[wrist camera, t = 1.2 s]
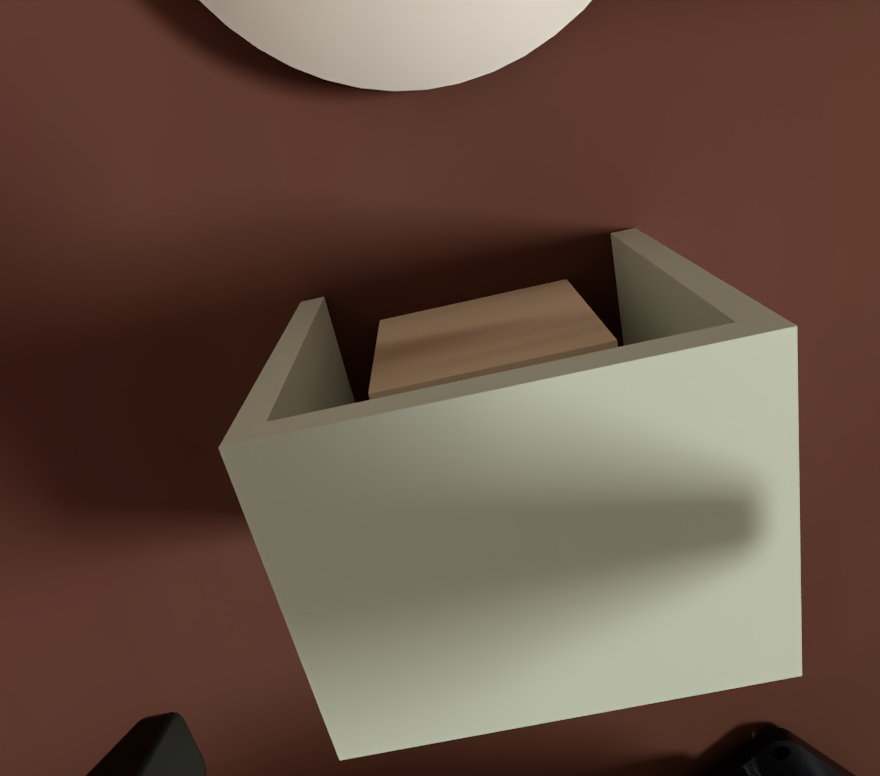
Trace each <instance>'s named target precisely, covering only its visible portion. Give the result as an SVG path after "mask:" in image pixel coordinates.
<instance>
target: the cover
mask: <svg viewBox="0 0 880 776" xmlns="http://www.w3.org/2000/svg"><path fill="white" fill-rule="evenodd" d="M610 234H611V243H612V251H613V260H614V268H615V276H616V285H617V293H618V302H619V310H620V318H621V327H622V335H623V344H624V346H621V347H616V348H612V349H607V350H602V351H597V352H593V353H588V354H583V355H579V356H574V357H569V358H564V359H560V360H555V361H550V362H546V363H541V364H536V365H531V366H527V367H522V368H517V369H513V370H508V371H503V372H498V373H494V374H489V375H484V376H480V377H475V378H470V379H466V380H461V381H456V382H451V383H447V384H442V385H437V386H433V387H428V388H423V389H418V390H414V391H409V392H404V393H400V394H395V395H390V396H385V397H381V398H376V399H371V400H367V401H362V402H357V403H355V401H354V397H353V394H352V391H351V387H350V384H349V380H348V377H347V373H346V370H345V367H344V363H343V360H342V356H341V353H340V349H339V346H338V343H337V339H336V336H335V332H334V329H333V325H332V322H331V318H330V315H329V312H328V308H327V305H326V301H325V298H324V297H320V298H316V299H311V300H307V301H302V302H300V304H299V306H298V308H297V310H296V311H295V313H294V315H293V317H292V318H291V320H290V322H289V324H288V326H287V327H286V329H285V331H284V333H283V334H282V336H281V338H280V340H279V341H278V343H277V345H276V347H275V349H274V350H273V352H272V354H271V356H270V357H269V359H268V361H267V363H266V364H265V366H264V368H263V370H262V372H261V373H260V375H259V377H258V379H257V380H256V382H255V384H254V386H253V388H252V389H251V391H250V393H249V395H248V396H247V398H246V400H245V402H244V403H243V405H242V407H241V409H240V411H239V412H238V414H237V416H236V418H235V419H234V421H233V423H232V425H231V426H230V428H229V430H228V432H227V434H226V435H225V437H224V439H223V441H222V442H221V444H220V446H219V451H220V454H221V456H222V459H223V461H224V464H225V466H226V469H227V472H228V474H229V477H230V479H231V482H232V485H233V487H234V490H235V492H236V495H237V497H238V500H239V503H240V505H241V508H242V510H243V513H244V515H245V518H246V521H247V523H248V526H249V528H250V531H251V534H252V536H253V539H254V541H255V544H256V546H257V549H258V552H259V554H260V557H261V559H262V562H263V564H264V567H265V570H266V572H267V575H268V577H269V580H270V583H271V585H272V588H273V590H274V593H275V595H276V598H277V601H278V603H279V606H280V608H281V611H282V613H283V616H284V619H285V621H286V624H287V626H288V629H289V632H290V634H291V637H292V639H293V642H294V644H295V647H296V650H297V652H298V655H299V657H300V660H301V662H302V665H303V668H304V670H305V673H306V675H307V678H308V681H309V683H310V686H311V688H312V691H313V693H314V696H315V699H316V701H317V704H318V706H319V709H320V711H321V714H322V717H323V719H324V722H325V724H326V727H327V730H328V732H329V735H330V737H331V740H332V742H333V745H334V748H335V750H336V753H337V755H338V758H339V760H346V759H351V758H356V757H362V756H367V755H373V754H378V753H384V752H389V751H395V750H400V749H406V748H411V747H416V746H422V745H427V744H433V743H438V742H444V741H449V740H455V739H460V738H466V737H471V736H476V735H482V734H487V733H493V732H498V731H504V730H509V729H515V728H520V727H526V726H531V725H536V724H542V723H547V722H553V721H558V720H564V719H569V718H575V717H580V716H586V715H591V714H596V713H602V712H607V711H613V710H618V709H624V708H629V707H635V706H640V705H646V704H651V703H656V702H662V701H667V700H673V699H678V698H684V697H689V696H695V695H700V694H706V693H711V692H716V691H722V690H727V689H733V688H738V687H744V686H749V685H755V684H760V683H766V682H771V681H776V680H782V679H787V678H793V677H798V676H802V633H801V564H800V494H799V424H798V355H797V326H796V325H795V324H793V323H791V322H790V321H788V320H786V319H785V318H783V317H781V316H780V315H778V314H776V313H775V312H773V311H772V310H770V309H768V308H767V307H765V306H763V305H762V304H760V303H758V302H757V301H755V300H753V299H752V298H750V297H748V296H747V295H745V294H743V293H742V292H740V291H738V290H737V289H735V288H733V287H732V286H730V285H729V284H727V283H725V282H724V281H722V280H720V279H719V278H717V277H715V276H714V275H712V274H710V273H709V272H707V271H705V270H704V269H702V268H700V267H699V266H697V265H695V264H694V263H692V262H690V261H689V260H687V259H685V258H684V257H682V256H681V255H679V254H677V253H676V252H674V251H672V250H671V249H669V248H667V247H666V246H664V245H662V244H661V243H659V242H657V241H656V240H654V239H652V238H651V237H649V236H647V235H646V234H644V233H642V232H641V231H639V230H638V229H636V228H632V229H627V230H623V231H618V232H614V233H610Z"/></svg>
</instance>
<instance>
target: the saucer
mask: <svg viewBox="0 0 880 776" xmlns="http://www.w3.org/2000/svg"><path fill="white" fill-rule="evenodd" d="M199 1H200V2H202V3H203V4H204V5H205V6H206V7H207V8H208V9H209V10H210V11H211V12H212V13H213V14H215V15H216V16H217V17H218V18H219V19H220V20H221V21H222V22H223V23H224V24H225V25H226V26H228V27H229V28H230V29H232V30H233V31H235V32H236V33H237V34H239V35H240V36H241V37H243V38H244V39H246V40H247V41H248V42H250V43H251V44H252V45H254V46H255V47H257V48H258V49H260V50H262V51H263V52H265V53H267V54H269V55H271V56H272V57H274V58H276V59H278V60H280V61H282V62H283V63H285V64H287V65H289V66H291V67H293V68H296V69H298V70H301V71H303V72H306V73H309V74H311V75H314V76H316V77H319V78H321V79H324V80H328V81H332V82H336V83H341V84H345V85H349V86H353V87H357V88H364V89H374V90H385V91H415V90H429V89H434V88H439V87H444V86H449V85H455V84H459V83H462V82H465V81H468V80H471V79H474V78H477V77H479V76H482V75H485V74H488V73H491V72H494V71H496V70H498V69H500V68H502V67H504V66H506V65H508V64H510V63H512V62H514V61H516V60H518V59H520V58H522V57H523V56H525V55H527V54H528V53H530V52H531V51H533V50H534V49H536V48H537V47H538V46H540V45H541V44H543V43H544V42H546V41H547V40H549V39H550V38H552V37H553V36H555V35H556V34H557V33H558V32H559V31H560V30H561V29H562V28H564V27H565V26H566V25H567V24H568V23H569V22H570V21H571V20H573V19H574V18H575V17H576V16H577V15H578V14H579V13H580V12H582V11H583V10H584V9H585V7H586V6H587V5H588V4H589V3H590V2H591V1H592V0H199Z"/></svg>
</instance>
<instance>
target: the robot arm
mask: <svg viewBox="0 0 880 776" xmlns="http://www.w3.org/2000/svg"><path fill="white" fill-rule="evenodd" d="M86 776H206V770H205V763H204V760H203V757H202V755H201V753H200V751H199V749H198V747H197V745H196V743H195V741H194V739H193V736H192V734H191V732H190V730H189V728H188V726H187V724H186V722H185V720H184V719H183V717H182V716H181V715H180V714H178V713H175V712H170V713H164V714H159V715H154V716H149V717H146V718H143V719H142V720H140V721H139V722H138V723H137V724H136V725H135V726H134V727H133V728H132V729H131V730H130V731H129V732H128V733H127V734H126V735H125V736H124V737H123V738H122V739H121V740H120V741H119V742H118V743H117V744H116V745H115V746H114V747H113V748H112V749H111V750H110V751H109V752H108V753H107V754H106V756H105V757H104V758H103V759H102V760H101V761H100V762H99V763H98V764H97V765H96V766H95V767H94V768H93V769H92V770H91V771H90V772H89V773H88V774H87V775H86ZM708 776H855V775H853V774H852V773H850V772H849V771H847V770H846V769H844V768H843V767H842V766H840V765H839V764H837V763H836V762H834V761H833V760H831V759H830V758H828V757H827V756H825V755H824V754H822V753H821V752H819V751H818V750H816V749H815V748H813V747H812V746H810V745H809V744H807V743H806V742H805V741H803V740H802V739H800V738H799V737H797V736H796V735H794V734H793V733H791V732H790V731H788V730H786V729H783V728H773V729H769V730H767V731H765V732H764V733H762V734H761V735H760V736H758V737H757V738H756V739H754V740H753V741H752V742H750V743H749V744H748V745H747V746H745V747H744V748H743V749H741V750H740V751H739V752H737V753H736V754H735V755H734V756H732V757H731V758H730V759H728V760H727V761H726V762H725V763H723V764H722V765H721V766H719V767H718V768H717V769H715V770H714V771H713V772H712V773H710V774H709V775H708Z"/></svg>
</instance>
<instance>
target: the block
mask: <svg viewBox="0 0 880 776" xmlns="http://www.w3.org/2000/svg"><path fill="white" fill-rule="evenodd" d="M616 347H618V342H617V339H616V338H615V337H614V336H613V335H612V333H611V332H610V331H609V330H608V329H607V327H606V326H605V325H604V324H603V322H602V321H601V320H600V319H599V318H598V316H597V315H596V314H595V313H594V312H593V310H592V309H591V308H590V307H589V306H588V304H587V303H586V302H585V301H584V300H583V298H582V297H581V296H580V295H579V293H578V292H577V291H576V290H575V289H574V287H573V286H572V285H571V284H570V283H569V281H568V280H567V279H565V280H560V281H556V282H551V283H547V284H542V285H537V286H533V287H528V288H524V289H519V290H515V291H510V292H506V293H501V294H497V295H492V296H488V297H483V298H479V299H474V300H469V301H465V302H460V303H456V304H451V305H447V306H442V307H438V308H433V309H429V310H424V311H420V312H415V313H410V314H406V315H401V316H397V317H392V318H388V319H383V320H380V322H379V328H378V335H377V341H376V347H375V354H374V360H373V366H372V373H371V379H370V386H369V392H368V395H369V399H370V400H371V399H376V398H381V397H385V396H390V395H395V394H400V393H404V392H409V391H414V390H418V389H423V388H428V387H433V386H437V385H442V384H447V383H451V382H456V381H461V380H466V379H470V378H475V377H480V376H484V375H489V374H494V373H498V372H503V371H508V370H513V369H517V368H522V367H527V366H531V365H536V364H541V363H546V362H550V361H555V360H560V359H564V358H569V357H574V356H579V355H583V354H588V353H593V352H597V351H602V350H607V349H612V348H616Z"/></svg>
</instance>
